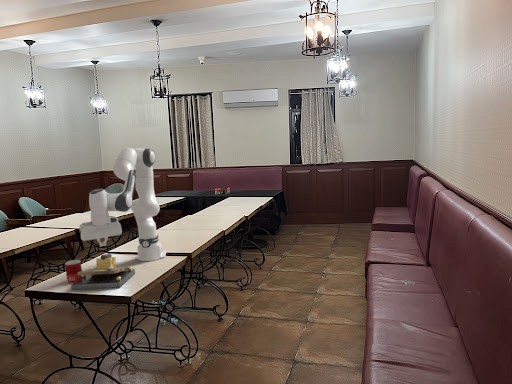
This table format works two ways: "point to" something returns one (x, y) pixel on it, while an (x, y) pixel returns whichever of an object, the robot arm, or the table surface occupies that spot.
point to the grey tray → (103, 280)
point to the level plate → (93, 271)
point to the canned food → (73, 270)
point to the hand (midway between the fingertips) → (103, 245)
